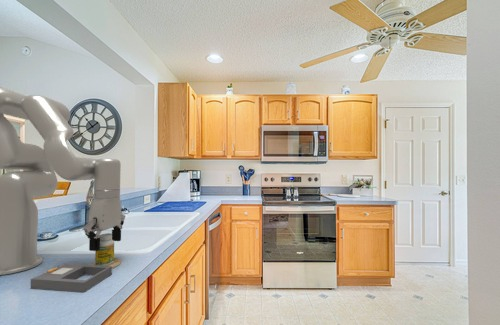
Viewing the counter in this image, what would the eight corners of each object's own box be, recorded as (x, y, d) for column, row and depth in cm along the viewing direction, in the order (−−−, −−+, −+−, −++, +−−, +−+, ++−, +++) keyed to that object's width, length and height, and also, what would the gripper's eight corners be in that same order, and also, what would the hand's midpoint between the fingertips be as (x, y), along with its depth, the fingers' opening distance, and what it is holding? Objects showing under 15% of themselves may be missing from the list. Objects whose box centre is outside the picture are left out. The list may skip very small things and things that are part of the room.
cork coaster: (82, 270, 71) (82, 268, 71) (103, 259, 80) (103, 257, 80) (107, 271, 70) (107, 269, 70) (126, 260, 79) (126, 258, 79)
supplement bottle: (113, 259, 79) (114, 231, 79) (114, 264, 74) (114, 235, 75) (95, 262, 76) (95, 234, 76) (94, 268, 71) (95, 238, 72)
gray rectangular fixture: (30, 288, 61) (30, 277, 61) (65, 271, 70) (65, 262, 71) (83, 292, 59) (84, 281, 59) (111, 274, 69) (111, 265, 69)
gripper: (115, 192, 85) (114, 237, 85) (74, 197, 68) (73, 254, 67) (133, 192, 84) (132, 238, 84) (97, 198, 67) (95, 255, 67)
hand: (106, 245), depth 76 cm, fingers open, 9 cm apart
